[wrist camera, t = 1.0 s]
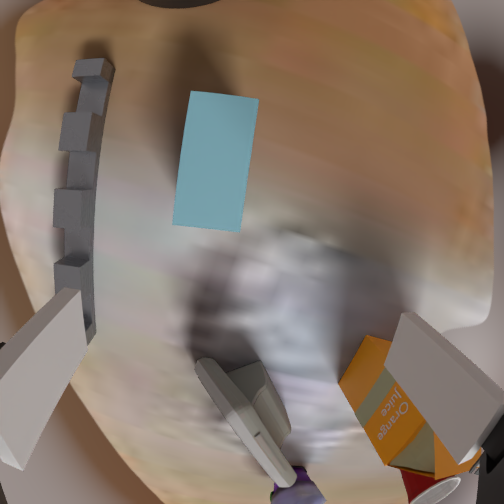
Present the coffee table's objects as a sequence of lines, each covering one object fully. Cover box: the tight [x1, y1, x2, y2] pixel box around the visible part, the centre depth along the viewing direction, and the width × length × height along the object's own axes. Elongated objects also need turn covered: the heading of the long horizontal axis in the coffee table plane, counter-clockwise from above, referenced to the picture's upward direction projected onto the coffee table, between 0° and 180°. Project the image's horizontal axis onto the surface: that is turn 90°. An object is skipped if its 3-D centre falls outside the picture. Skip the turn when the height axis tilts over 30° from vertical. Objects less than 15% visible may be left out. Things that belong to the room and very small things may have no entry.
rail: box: [53, 58, 115, 346], centre depth 25 cm, size 28×3×4 cm, turn 172°
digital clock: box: [194, 358, 297, 487], centre depth 30 cm, size 16×9×11 cm, turn 11°
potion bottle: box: [270, 466, 326, 504], centre depth 34 cm, size 9×9×12 cm
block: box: [172, 91, 259, 232], centre depth 24 cm, size 9×4×9 cm, turn 172°
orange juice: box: [338, 335, 481, 480], centre depth 26 cm, size 8×9×20 cm
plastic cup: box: [400, 469, 461, 504], centre depth 38 cm, size 11×11×12 cm
